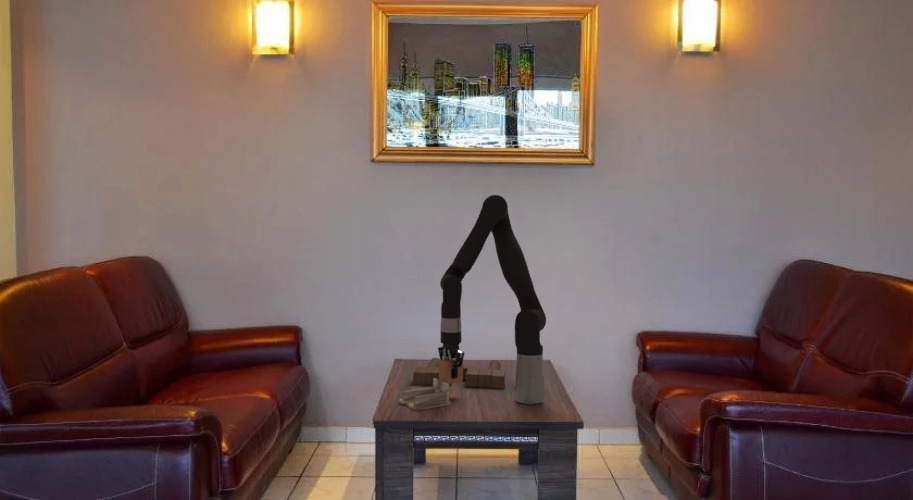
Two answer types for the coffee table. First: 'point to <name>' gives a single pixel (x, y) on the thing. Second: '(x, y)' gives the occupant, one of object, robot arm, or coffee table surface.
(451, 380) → the rust book
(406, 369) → the coffee table surface
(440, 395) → the birch slot rack
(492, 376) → the brown segmented blocky figure
